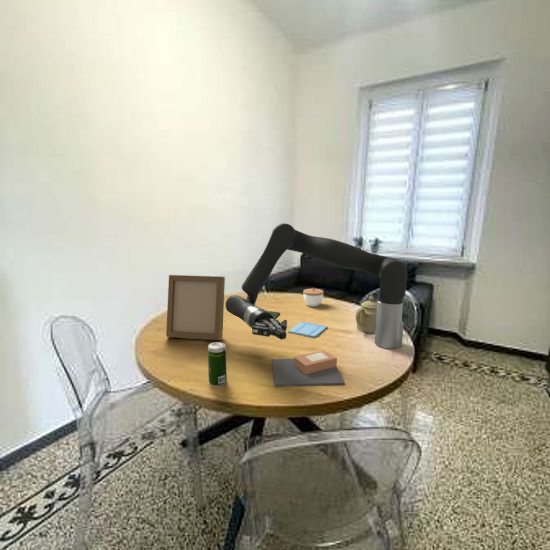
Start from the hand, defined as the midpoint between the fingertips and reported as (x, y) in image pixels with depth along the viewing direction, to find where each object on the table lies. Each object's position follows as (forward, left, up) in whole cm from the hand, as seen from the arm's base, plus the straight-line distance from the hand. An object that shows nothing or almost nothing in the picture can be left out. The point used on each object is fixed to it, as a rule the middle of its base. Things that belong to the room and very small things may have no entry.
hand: (283, 336), depth 101 cm
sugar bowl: (-40, -42, -15) cm, 60 cm away
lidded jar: (-22, -80, -15) cm, 84 cm away
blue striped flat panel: (-14, -43, -15) cm, 48 cm away
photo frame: (+32, -41, -15) cm, 54 cm away
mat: (-8, -6, -15) cm, 18 cm away
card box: (-6, -6, -13) cm, 15 cm away
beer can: (+20, -1, -15) cm, 25 cm away
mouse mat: (+11, -58, -15) cm, 61 cm away
